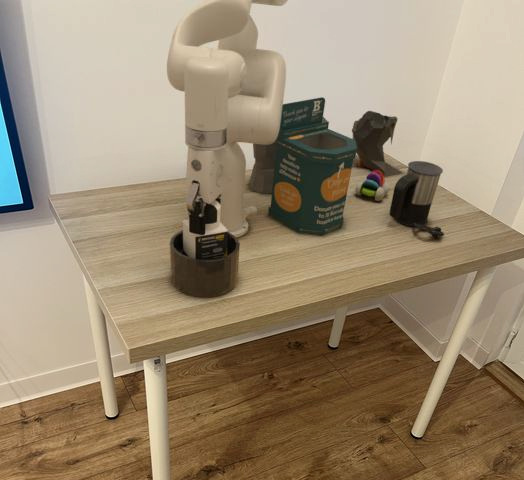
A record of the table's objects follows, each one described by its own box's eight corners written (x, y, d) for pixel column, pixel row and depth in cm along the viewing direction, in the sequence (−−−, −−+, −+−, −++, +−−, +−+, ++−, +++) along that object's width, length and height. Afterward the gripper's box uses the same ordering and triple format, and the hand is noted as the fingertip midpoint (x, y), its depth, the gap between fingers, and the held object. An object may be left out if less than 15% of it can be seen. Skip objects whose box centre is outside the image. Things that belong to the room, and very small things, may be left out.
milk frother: (402, 208, 152) (415, 157, 142) (454, 226, 146) (472, 174, 136) (380, 225, 143) (393, 172, 133) (436, 245, 136) (454, 191, 127)
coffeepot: (238, 182, 157) (241, 119, 146) (263, 176, 162) (268, 114, 150) (270, 202, 148) (276, 136, 137) (295, 195, 153) (303, 131, 141)
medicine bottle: (195, 266, 108) (195, 212, 100) (182, 250, 113) (181, 196, 105) (227, 260, 111) (229, 207, 103) (213, 244, 116) (214, 192, 108)
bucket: (209, 256, 124) (209, 220, 118) (251, 283, 116) (253, 247, 110) (158, 276, 116) (156, 239, 110) (199, 306, 108) (199, 268, 102)
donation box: (310, 201, 151) (325, 96, 133) (352, 224, 142) (374, 114, 124) (267, 215, 142) (278, 104, 124) (310, 240, 133) (327, 125, 115)
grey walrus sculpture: (371, 156, 183) (382, 101, 171) (402, 172, 173) (416, 115, 162) (339, 162, 176) (349, 104, 165) (369, 179, 167) (382, 120, 155)
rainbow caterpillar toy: (390, 194, 159) (396, 171, 154) (377, 205, 152) (383, 180, 148) (364, 186, 162) (369, 163, 157) (351, 196, 156) (356, 172, 151)
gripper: (208, 154, 89) (207, 247, 100) (240, 125, 102) (236, 210, 113) (166, 146, 90) (170, 239, 101) (204, 119, 103) (203, 203, 114)
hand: (205, 223), depth 107 cm, fingers closed on medicine bottle, 7 cm apart
